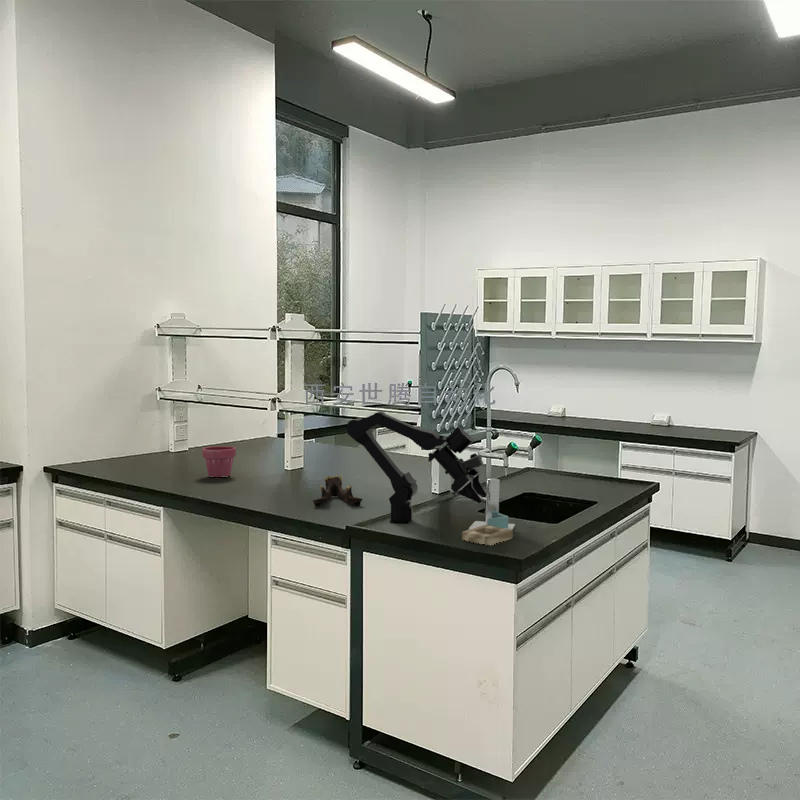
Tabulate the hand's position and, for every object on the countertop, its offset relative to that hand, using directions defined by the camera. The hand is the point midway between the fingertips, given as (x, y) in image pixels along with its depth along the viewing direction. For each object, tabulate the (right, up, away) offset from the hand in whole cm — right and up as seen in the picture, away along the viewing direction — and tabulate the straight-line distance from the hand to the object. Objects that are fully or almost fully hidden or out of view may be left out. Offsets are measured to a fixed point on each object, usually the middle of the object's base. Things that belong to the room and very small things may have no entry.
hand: (483, 499), depth 233 cm
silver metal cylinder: (+3, -9, 0) cm, 9 cm away
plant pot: (-106, -2, +89) cm, 138 cm away
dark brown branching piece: (-48, -7, +39) cm, 63 cm away
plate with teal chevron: (+3, -9, 0) cm, 10 cm away
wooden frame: (0, -10, -14) cm, 17 cm away
